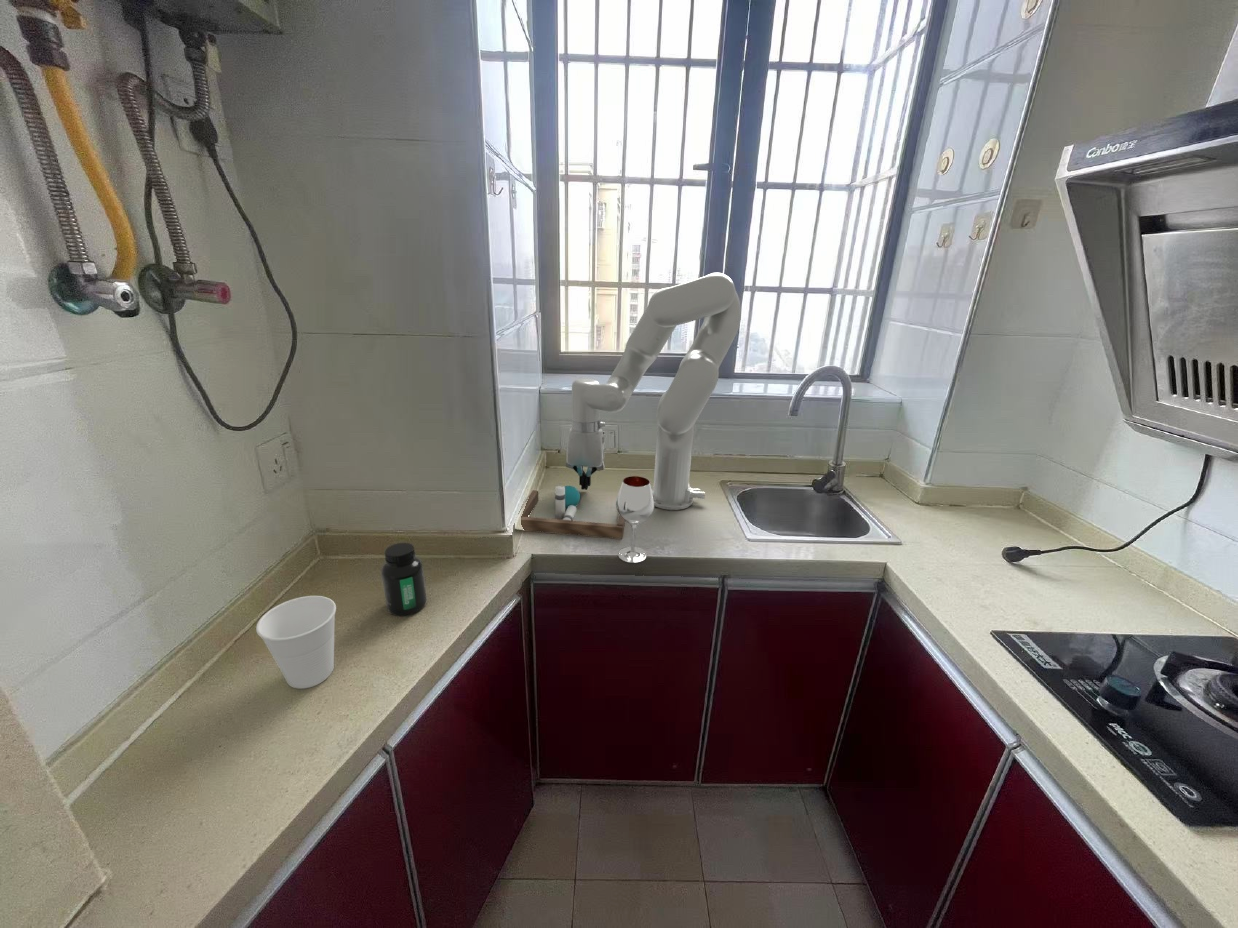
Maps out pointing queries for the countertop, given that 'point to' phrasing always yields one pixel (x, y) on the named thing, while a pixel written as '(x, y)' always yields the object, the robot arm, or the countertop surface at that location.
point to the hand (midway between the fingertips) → (585, 487)
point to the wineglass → (634, 511)
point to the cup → (301, 639)
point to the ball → (571, 496)
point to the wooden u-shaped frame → (568, 524)
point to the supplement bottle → (403, 580)
